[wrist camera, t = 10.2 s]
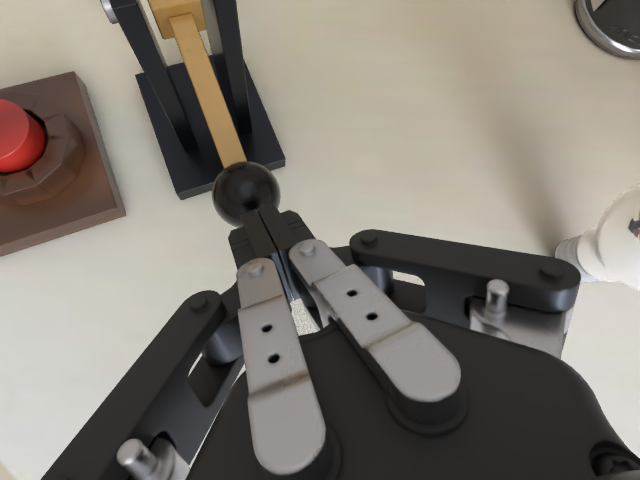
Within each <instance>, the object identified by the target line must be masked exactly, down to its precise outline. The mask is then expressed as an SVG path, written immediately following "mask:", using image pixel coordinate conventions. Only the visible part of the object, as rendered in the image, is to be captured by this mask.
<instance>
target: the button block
mask: <svg viewBox="0 0 640 480" xmlns="http://www.w3.org/2000/svg"><path fill="white" fill-rule="evenodd" d="M0 99H4V100H8V101H11V102H13V103H15V104H17V105H18V106H20V107H21V108H22V109H23V110H24V111H26V112H27V113H28V114H29V115H30V116H31V117H32V118H34V119H35V120H36V121H37V122H38V123H39V124H40V125H41V126H42V128H43V130H44V132H45V135H46V146H45V149H44V152H43V154H42V155H41V157H40V158H39V159H38V160H37V161H36V162H35V163H34V164H33V165H31V166H30V167H28V168H26V169H24V170H21V171H18V172H13V173H0V257H1V256H4V255H7V254H10V253H13V252H16V251H19V250H22V249H25V248H28V247H31V246H34V245H37V244H40V243H43V242H46V241H49V240H52V239H56V238H59V237H62V236H65V235H68V234H71V233H74V232H77V231H80V230H83V229H86V228H89V227H92V226H95V225H98V224H101V223H104V222H107V221H110V220H113V219H116V218H120V217H123V216H125V215H126V213H125V210H124V206H123V203H122V200H121V197H120V194H119V191H118V188H117V184H116V181H115V178H114V175H113V172H112V169H111V166H110V162H109V159H108V156H107V153H106V150H105V147H104V144H103V140H102V137H101V134H100V131H99V128H98V125H97V122H96V118H95V115H94V112H93V109H92V106H91V103H90V100H89V96H88V93H87V90H86V87H85V85H84V83H83V82H82V81H81V80H80V78H79V77H78V76H77V74H76V73H75V72H74V71H73V72H69V73H65V74H61V75H57V76H53V77H48V78H44V79H40V80H36V81H32V82H28V83H24V84H20V85H16V86H12V87H8V88H4V89H0Z"/></svg>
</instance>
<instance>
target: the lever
mask: <svg viewBox="0 0 640 480" xmlns="http://www.w3.org/2000/svg"><path fill="white" fill-rule="evenodd" d="M148 3H149V5H150V8H151V11H152V13H153V16H154V18H155V21H156V23H157V26H158V28H159V31H160V33H161V36H162V38H163V39H169V38H173V37H175V40H176V42H177V45H178V48H179V50H180V53H181V56H182V58H183V61H184V64H185V66H186V69H187V72H188V74H189V77H190V80H191V82H192V85H193V87H194V90H195V93H196V95H197V98H198V101H199V103H200V106H201V109H202V111H203V114H204V117H205V119H206V122H207V125H208V127H209V130H210V133H211V135H212V138H213V141H214V143H215V146H216V149H217V151H218V154H219V157H220V159H221V162H222V165H223V167H224V169H223V170H222V171H221V172H220V173H219V174H218V176H217V177H216V179H215V181H214V184H213V188H212V200H213V204H214V207H215V209H216V211H217V213H218V214H219V216H220V217H221V218H222V219H223V220H224V221H226V222H227V223H228V224H230V225H232V226H235V227H238V228H240V227H243V224H242V221H241V219H240V216H239V215H242V214H245V213H248V212H250V211H253V210H256V211H257V209H259V208H262V207H265V206H268V205H270V204H273V203H274V205H275V206H276V208H277V209H278V207H279V203H280V188H279V185H278V182H277V180H276V178H275V177H274V175H273V174H272V173H271V172H270V171H269V170H268V169H267V168H265V167H264V166H262V165H260V164H258V163H255V162H250V161H247V159H246V157H245V154H244V151H243V149H242V146H241V143H240V141H239V138H238V135H237V133H236V130H235V127H234V125H233V122H232V119H231V117H230V114H229V111H228V108H227V106H226V103H225V100H224V98H223V95H222V92H221V90H220V87H219V84H218V82H217V79H216V76H215V74H214V71H213V68H212V66H211V63H210V60H209V57H208V55H207V52H206V49H205V47H204V44H203V41H202V39H201V36H200V33H199V31H202V30H205V29H206V23H205V17H204V12H203V6H202V1H201V0H148ZM257 213H258V211H257Z"/></svg>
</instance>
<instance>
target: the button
mask: <svg viewBox="0 0 640 480" xmlns="http://www.w3.org/2000/svg"><path fill="white" fill-rule="evenodd" d="M45 146H46V135H45V132H44V130H43V128H42V126H41V125H40V124H39V123H38V122H37V121H36V120H35V119H34V118H32V117H31V116H30V115H29V114H28V113H27V112H26V111H24V110H23V109H22V108H21V107H20V106H18V105H17V104H15V103H13V102H11V101H8V100H4V99H0V173H13V172H18V171H21V170H24V169H26V168H28V167H30V166H31V165H33V164H34V163H35V162H36V161H37V160H38V159H39V158H40V157H41V155H42V154H43V152H44V149H45Z"/></svg>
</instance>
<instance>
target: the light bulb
mask: <svg viewBox="0 0 640 480" xmlns="http://www.w3.org/2000/svg"><path fill="white" fill-rule="evenodd" d="M555 258H558V259H562V260H564V261H567V262H569V263H571V264H572V265H574V266H575V267H576V268H577V269H578V270H579V272H580V273H581V281H580V283H586V282H592V281H597V280H602V281H606V282H621V283H623V284H625V285H627V286H629V287H631V288H633V289H636V290H638V291H640V183H639V184H636V185H635V186H633V187H631V188H629V189H627V190H626V191H624V192H623V193H622V194H620V195H619V196H618V197H617V198H616V199H615V200H613V201H612V202H611V203H610V205H609V206H608V207H607V209H606V210H605V211H604V213H603V214H602V216H601V218H600V220H599V222H598V223H597V225H595V226H594V227H592V228H590V229H588V230H587V231H586V232H585V233H583V235H580V236H577V237H574V238H571V239H567V240H565V241H563V242H561V243H560V244H559V245H558V247H557V248H556V251H555Z"/></svg>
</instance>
